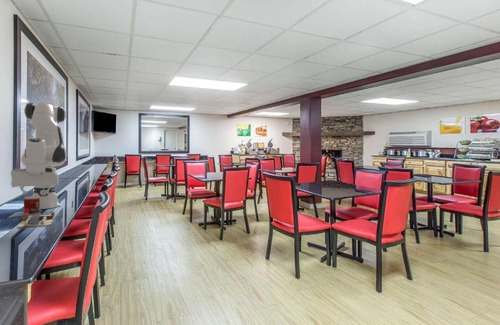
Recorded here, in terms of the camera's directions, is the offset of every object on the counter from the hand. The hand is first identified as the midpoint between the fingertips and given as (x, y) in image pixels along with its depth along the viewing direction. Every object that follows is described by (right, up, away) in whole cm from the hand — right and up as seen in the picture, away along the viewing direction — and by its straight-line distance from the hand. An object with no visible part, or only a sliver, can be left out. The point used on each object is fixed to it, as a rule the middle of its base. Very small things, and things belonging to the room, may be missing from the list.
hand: (35, 194), depth 149 cm
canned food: (-19, -15, +21) cm, 33 cm away
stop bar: (-1, -16, +1) cm, 16 cm away
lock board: (-4, -16, +6) cm, 18 cm away
